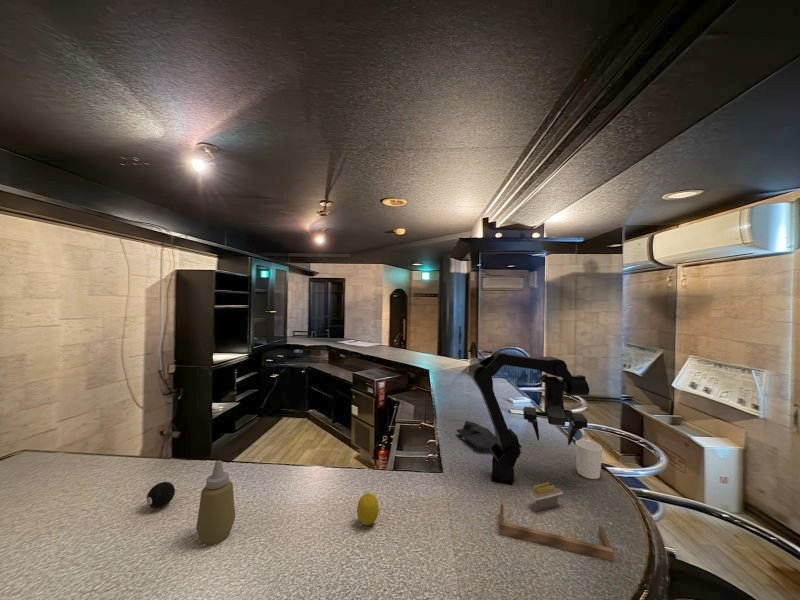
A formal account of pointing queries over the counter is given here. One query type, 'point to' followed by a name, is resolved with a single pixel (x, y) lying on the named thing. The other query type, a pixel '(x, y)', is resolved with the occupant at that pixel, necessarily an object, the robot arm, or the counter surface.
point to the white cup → (588, 458)
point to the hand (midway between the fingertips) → (553, 442)
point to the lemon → (367, 509)
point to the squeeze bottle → (216, 507)
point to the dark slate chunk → (477, 435)
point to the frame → (557, 540)
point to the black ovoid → (160, 495)
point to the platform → (545, 496)
